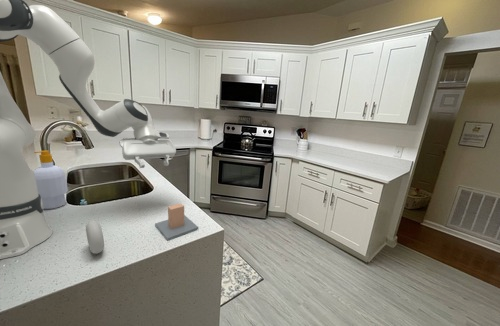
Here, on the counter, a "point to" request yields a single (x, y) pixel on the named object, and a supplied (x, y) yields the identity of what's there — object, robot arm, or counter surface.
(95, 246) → the donut
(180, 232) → the coaster
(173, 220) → the block
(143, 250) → the counter surface
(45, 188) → the soap bottle
